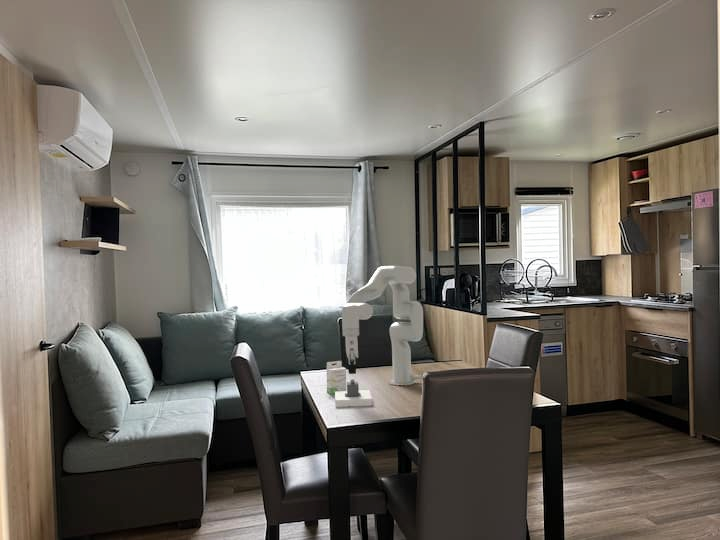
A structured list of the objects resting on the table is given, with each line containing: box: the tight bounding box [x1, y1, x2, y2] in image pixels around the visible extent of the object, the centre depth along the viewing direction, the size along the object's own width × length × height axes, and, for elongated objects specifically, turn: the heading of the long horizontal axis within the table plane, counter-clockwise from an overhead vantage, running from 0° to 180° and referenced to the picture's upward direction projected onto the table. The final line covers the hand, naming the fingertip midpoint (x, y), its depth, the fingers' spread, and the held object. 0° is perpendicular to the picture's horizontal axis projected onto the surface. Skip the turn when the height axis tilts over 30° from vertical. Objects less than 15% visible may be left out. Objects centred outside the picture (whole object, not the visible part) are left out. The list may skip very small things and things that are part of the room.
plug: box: [346, 378, 360, 397], centre depth 230 cm, size 5×5×10 cm
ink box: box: [326, 360, 347, 395], centre depth 249 cm, size 9×5×15 cm, turn 118°
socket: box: [334, 389, 373, 408], centre depth 230 cm, size 16×16×3 cm
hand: (352, 371), depth 230 cm, fingers open, 5 cm apart
